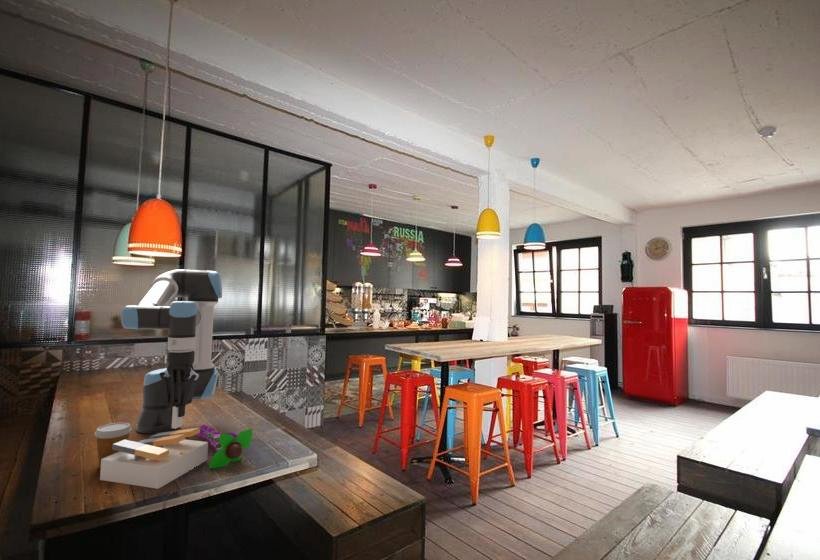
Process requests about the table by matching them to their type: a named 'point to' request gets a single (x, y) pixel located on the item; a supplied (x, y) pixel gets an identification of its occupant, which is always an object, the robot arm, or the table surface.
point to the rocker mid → (163, 440)
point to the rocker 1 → (140, 449)
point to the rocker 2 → (177, 433)
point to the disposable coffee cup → (110, 438)
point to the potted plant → (226, 445)
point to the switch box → (154, 465)
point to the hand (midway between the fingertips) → (177, 426)
